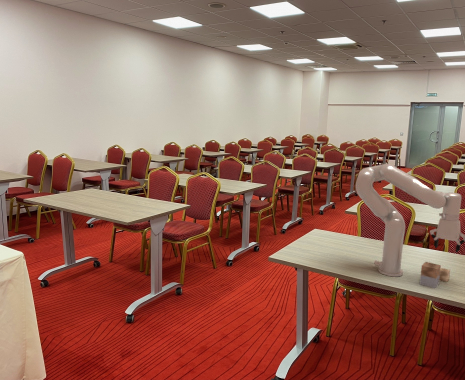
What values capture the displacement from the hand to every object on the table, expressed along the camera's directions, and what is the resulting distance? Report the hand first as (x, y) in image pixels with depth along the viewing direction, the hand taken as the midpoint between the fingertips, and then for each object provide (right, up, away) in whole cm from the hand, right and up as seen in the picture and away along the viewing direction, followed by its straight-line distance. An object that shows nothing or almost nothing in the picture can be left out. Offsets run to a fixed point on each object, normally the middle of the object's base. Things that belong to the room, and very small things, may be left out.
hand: (446, 249), depth 202 cm
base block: (-11, -17, -3) cm, 20 cm away
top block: (-10, -12, -4) cm, 17 cm away
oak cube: (0, -16, +3) cm, 16 cm away
